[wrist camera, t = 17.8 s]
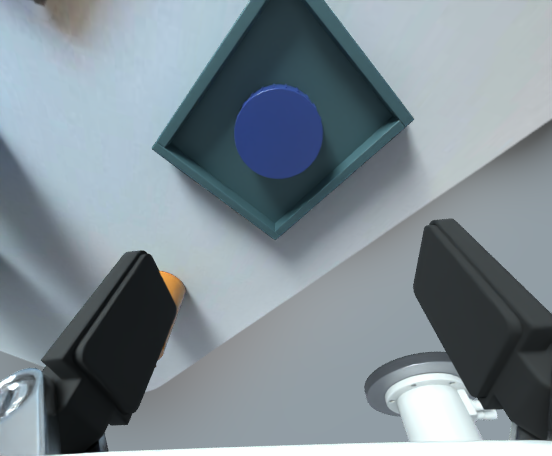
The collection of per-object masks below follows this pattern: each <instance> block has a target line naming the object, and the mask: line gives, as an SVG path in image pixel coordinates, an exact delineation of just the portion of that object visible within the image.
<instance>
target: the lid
mask: <svg viewBox="0 0 552 456" xmlns="http://www.w3.org/2000/svg"><path fill="white" fill-rule="evenodd" d="M316 109H317V107H316V106H315V104H314V103H312V102H311V100H310V99H309V97H308V95H307V94H306V95H305V94H304V93H303V92H302V91H300V90H298V88H297V87H296V88H294V87H292V86H289V85H287V84H285V85H283V84H275V83H273V85H269V86H266V87H262V88H261V89H259V90H257V91H256V92H255V93H252V94H251V96H250V97H249V98H248V100H247V101H245V102H244V103H243V105H242V109H241V111H240V112H239V113H238V115H237V117H236V118H237V120H236V123H235V128H234V138H235V144H236V148H237V151H238V153H239V155H240V157H241V159H242V160H243V161H244V163H245V164H246V165H247V166H248V167H249V168H250V169H251V170H253V171H254V172H256V173H257V174H259V175H262V176H264V177H267V178H272V179H284V178H290V177H293V176H295V175H298V174H300V173H301V172H303V171H304V170H306V169H307V168H308V167H309V166H310V165H311V164H312V163H313V162H314V160H315V159H316V157H317V156H318V153H319V151H320V149H321V146H322V141H323V126H322V121H321V120H322V119H321V117H320V115H319V114H318V112H317V110H316Z"/></svg>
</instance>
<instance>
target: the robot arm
mask: <svg viewBox="0 0 552 456" xmlns="http://www.w3.org/2000/svg"><path fill="white" fill-rule="evenodd" d="M413 289H414V293H415V296H416V298H417V299H418V301H419V303H420V305H421V307H422V309H423V310H424V312H425V314H426V316H427V318H428V320H429V321H430V323H431V325H432V327H433V329H434V330H435V332H436V334H437V336H438V338H439V340H440V341H441V343H442V345H443V347H444V348H445V351H446V352H447V354H448V356H449V358H450V360H451V362H452V363H453V365H454V367H455V369H456V371H457V373H458V374H459V376H460V378H459V377H457V376H455V375H451V374H446V373H426V374H419V375H415V376H411V377H408V378H405V379H403V380H401V381H399V382H397V383H395V384H394V385H392V386H391V387H390V388H389V389H388V391H387V392H386V394H385V401H386V404H387V406H388V408H389V409H390V410H392V411H393V412H395V413H398V414H400V416H401V419H402V422H403V425H404V428H405V431H406V434H407V437H408V440H409V442H388V443H351V444H319V445H318V444H317V445H286V446H257V447H256V446H255V447H226V448H196V449H169V450H143V451H118V452H108V448H107V442H106V438H105V430H106V428H107V426H108V424H110V425H128V423H129V420H130V418H131V415H132V413H134V412H136V410H137V409H138V407H139V405H140V403H141V400H142V398H143V395H144V393H145V390H146V388H147V385H148V383H149V381H150V378H151V376H152V373H153V371H154V368H155V366H156V363H157V361H158V358H159V356H160V353H161V351H162V348H163V346H164V343H165V341H166V338H167V336H168V333H169V331H170V328H171V326H172V324H173V321H174V319H175V316H176V313H177V307H176V304H175V302H174V300H173V298H172V296H171V294H170V292H169V290H168V288H167V286H166V284H165V282H164V280H163V278H162V276H161V274H160V272H159V270H158V268H157V265H156V263H155V261H154V259H153V257H152V256H151V255H150V254H147V253H146V252H145V251H132V252H126V253H125V254H124V255H123V256H122V257H121V258H120V260H119V261H118V262H117V264H116V265H115V266H114V267H113V269H112V270H111V271H110V273H109V274H108V275H107V276H106V278H105V279H104V280H103V281H102V283H101V284H100V285H99V287H98V288H97V289H96V290H95V292H94V293H93V294H92V296H91V297H90V298H89V299H88V301H87V302H86V303H85V304H84V306H83V307H82V308H81V310H80V311H79V312H78V313H77V315H76V316H75V317H74V319H73V320H72V321H71V322H70V324H69V325H68V326H67V327H66V329H65V330H64V331H63V333H62V334H61V335H60V336H59V338H58V339H57V340H56V341H55V343H54V344H53V345H52V347H51V348H50V349H49V350H48V352H47V353H46V354H45V356H44V357H43V358H42V359H41V361H42V362H43V363H44V364H45V365H46V367H45V368H44V369H43V371H40V370H39V369H37V368H28V369H24V370H20V371H18V372H16V373H14V374H11V375H9V376H8V377H7V378H5V379H3V380H2V381H0V456H552V314H551V313H550V312H549V311H548V310H547V309H546V308H545V307H544V306H543V305H542V304H541V303H540V302H539V301H538V300H537V299H536V298H535V297H534V296H533V295H532V294H531V293H529V292H528V291H527V290H526V289H525V288H524V287H523V286H522V285H521V284H520V283H519V282H518V281H517V280H516V279H515V278H514V277H513V276H512V275H511V274H510V273H509V272H508V271H507V270H506V269H505V268H504V267H503V266H502V265H501V264H500V263H499V262H498V261H496V260H495V259H494V258H493V257H492V256H491V255H490V254H489V253H488V252H487V251H486V250H485V249H484V248H483V247H482V246H481V245H480V244H479V243H478V242H477V241H476V240H475V239H474V238H473V237H472V236H471V235H470V234H469V233H468V232H467V231H466V230H464V228H462V227H461V226H460V225H459V224H458V223H457V222H456V221H455V220H454V219H442V220H433V221H431V223H430V224H429V225H428V226H425V228H424V232H423V237H422V242H421V248H420V254H419V258H418V263H417V269H416V274H415V279H414V284H413ZM469 394H470V395H471V396H472V397H475V398H476V397H477V398H478V401H473V400H472V399H469V397H468V396H469ZM495 409H504V411H505V412H506V414H507V415H508V417H509V419H510V420H511V421H512V424H511V431H510V437H509V440H490V441H489V440H487V441H486V440H485V441H484V440H483V438H482V436H481V435H480V433H479V431H478V429H477V427H476V425H475V422H476V420H477V419H483V420H496V419H497V413H496V410H495Z"/></svg>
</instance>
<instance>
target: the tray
mask: <svg viewBox="0 0 552 456" xmlns="http://www.w3.org/2000/svg"><path fill="white" fill-rule="evenodd" d="M273 83H275V84H283V85H285V84H287V85H289V86H292V87H294V88H296V87H297V88H298V90H300V91H302V92H303V93H304V94H305V95H306V94H307V95H308V97H309V99H310V100H311V102H312V103H314V104H315V106H316V107H317V109H316V110H317V112H318V114H319V115H320V117H321V119H322V120H321V121H322V126H323V141H322V146H321V149H320V151H319V153H318V156H317V157H316V159H315V160H314V162H313V163H312V164H311V165H310V166H309V167H308V168H307V169H306V170H304V171H303V172H301V173H300V174H298V175H295V176H293V177H290V178H284V179H272V178H267V177H264V176H262V175H259V174H257V173H256V172H254V171H253V170H251V169H250V168H249V167H248V166H247V165H246V164H245V163H244V161H243V160H242V159H241V157H240V155H239V153H238V151H237V148H236V144H235V138H234V128H235V123H236V120H237V118H236V117H237V115H238V113H239V112H240V111H241V109H242V105H243V103H244V102H245V101H247V100H248V98H249V97H250V96H251V94H252V93H255V92H256V91H257V90H259V89H261V88H262V87H266V86H269V85H273ZM413 120H414V118H413V117H412V115H411V114H410V113H409V111H408V110H407V109H406V108H405V106H404V105H403V104H402V102H401V101H400V100H399V98H398V97H397V96H396V94H395V93H394V92H393V90H392V89H391V88H390V87H389V85H388V84H387V83H386V81H385V80H384V79H383V77H382V76H381V75H380V73H379V72H378V71H377V69H376V68H375V67H374V65H373V64H372V63H371V62H370V60H369V59H368V58H367V56H366V55H365V54H364V52H363V51H362V50H361V48H360V47H359V46H358V44H357V43H356V42H355V40H354V39H353V38H352V37H351V35H350V34H349V33H348V31H347V30H346V29H345V27H344V26H343V25H342V23H341V22H340V21H339V19H338V18H337V17H336V16H335V14H334V13H333V12H332V10H331V9H330V8H329V6H328V5H327V4H326V2H325V1H324V0H250V1H249V2H248V4H247V5H246V7H245V8H244V10H243V11H242V13H241V14H240V16H239V17H238V19H237V20H236V22H235V23H234V25H233V26H232V28H231V29H230V31H229V32H228V34H227V35H226V37H225V38H224V40H223V41H222V43H221V44H220V46H219V47H218V49H217V51H216V52H215V54H214V55H213V57H212V58H211V60H210V61H209V63H208V64H207V66H206V67H205V69H204V70H203V72H202V73H201V75H200V76H199V78H198V79H197V81H196V82H195V84H194V85H193V87H192V88H191V90H190V91H189V93H188V94H187V96H186V97H185V99H184V100H183V102H182V103H181V105H180V106H179V108H178V109H177V111H176V112H175V114H174V115H173V117H172V118H171V120H170V121H169V123H168V124H167V126H166V127H165V129H164V130H163V132H162V133H161V135H160V136H159V138H158V140H157V141H156V142H155V144H154V145H153V147H152V150H154V151H155V152H157V153H158V154H159V155H161V156H162V157H163V158H165V159H166V160H167V161H169V162H170V163H171V164H173V165H174V166H175V167H177V168H178V169H179V170H181V171H182V172H184V173H185V174H186V175H188V176H189V177H190V178H192V179H193V180H194V181H196V182H197V183H198V184H200V185H201V186H202V187H204V188H205V189H207V190H208V191H209V192H211V193H212V194H213V195H215V196H216V197H217V198H219V199H220V200H221V201H223V202H224V203H225V204H227V205H228V206H229V207H231V208H232V209H234V210H235V211H236V212H238V213H239V214H240V215H242V216H243V217H244V218H246V219H247V220H248V221H250V222H251V223H252V224H254V225H255V226H257V227H258V228H259V229H261V230H262V231H263V232H265V233H266V234H267V235H269V236H270V237H271V238H273V239H274V240H276V239H277V238H279V237H280V236H281V235H282V234H283V233H285V232H286V231H287V230H288V229H289V228H290V227H291V226H293V225H294V224H295V223H296V222H297V221H298V220H299V219H301V218H302V217H303V216H304V215H305V214H306V213H308V212H309V211H310V210H311V209H312V208H313V207H314V206H316V205H317V204H318V203H319V202H320V201H321V200H322V199H324V198H325V197H326V196H327V195H328V194H329V193H331V192H332V191H333V190H334V189H335V188H336V187H337V186H339V185H340V184H341V183H342V182H343V181H344V180H346V179H347V178H348V177H349V176H350V175H351V174H352V173H354V172H355V171H356V170H357V169H358V168H359V167H360V166H362V165H363V164H364V163H365V162H366V161H367V160H369V159H370V158H371V157H372V156H373V155H374V154H375V153H377V152H378V151H379V150H380V149H381V148H382V147H383V146H385V145H386V144H387V143H388V142H389V141H390V140H392V139H393V138H394V137H395V136H396V135H397V134H398V133H400V132H401V131H402V130H403V129H404V128H405V127H406V126H407V125H409V124H410V123H411V122H412V121H413Z"/></svg>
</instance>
